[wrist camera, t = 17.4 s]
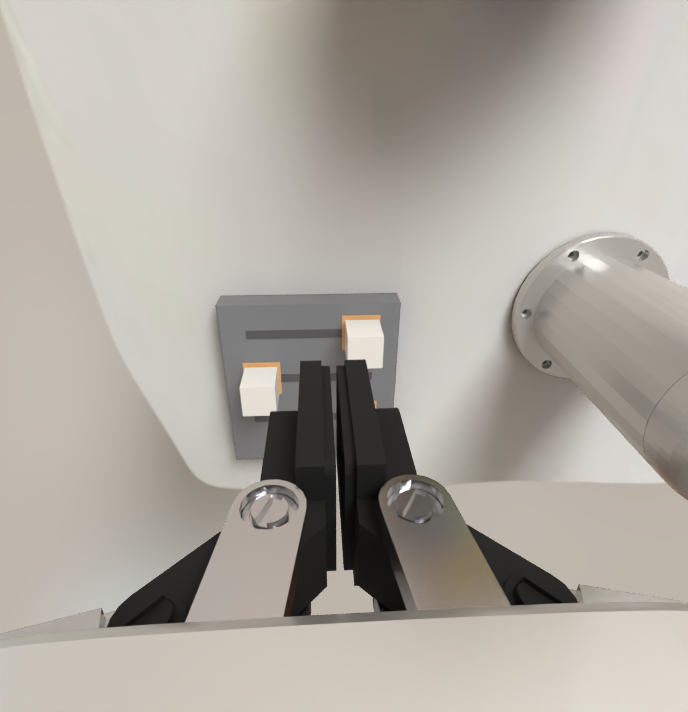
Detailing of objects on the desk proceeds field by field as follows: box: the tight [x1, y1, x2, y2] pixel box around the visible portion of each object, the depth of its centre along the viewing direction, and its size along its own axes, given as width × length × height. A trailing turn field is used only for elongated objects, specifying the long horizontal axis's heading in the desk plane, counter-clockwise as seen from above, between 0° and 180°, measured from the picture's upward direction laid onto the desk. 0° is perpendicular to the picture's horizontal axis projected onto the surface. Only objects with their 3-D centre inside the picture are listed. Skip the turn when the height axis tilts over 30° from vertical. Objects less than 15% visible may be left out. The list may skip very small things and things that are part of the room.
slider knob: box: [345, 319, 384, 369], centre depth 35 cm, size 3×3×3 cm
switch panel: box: [216, 293, 401, 460], centre depth 40 cm, size 14×15×2 cm
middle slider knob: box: [240, 367, 279, 416], centre depth 37 cm, size 3×3×3 cm
